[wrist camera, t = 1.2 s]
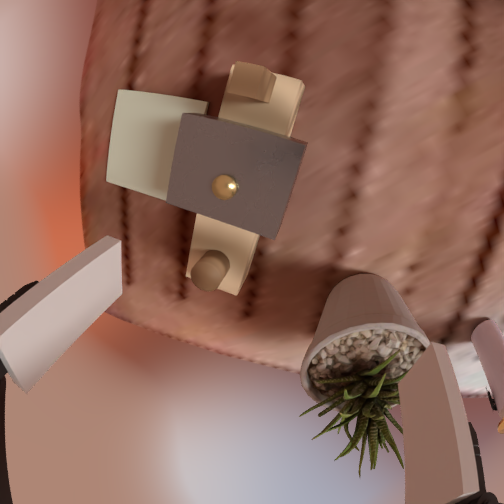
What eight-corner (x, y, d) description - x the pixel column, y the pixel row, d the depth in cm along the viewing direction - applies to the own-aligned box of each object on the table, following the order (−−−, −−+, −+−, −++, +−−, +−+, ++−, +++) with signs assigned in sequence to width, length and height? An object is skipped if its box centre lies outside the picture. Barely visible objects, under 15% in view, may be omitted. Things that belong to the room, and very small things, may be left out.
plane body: (246, 72, 25) (210, 53, 16) (305, 86, 24) (295, 69, 16) (201, 257, 35) (164, 301, 27) (247, 275, 35) (221, 325, 26)
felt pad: (121, 89, 28) (118, 89, 27) (209, 102, 27) (207, 102, 26) (108, 180, 34) (106, 181, 33) (187, 205, 32) (184, 206, 32)
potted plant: (285, 317, 36) (244, 462, 18) (354, 234, 29) (376, 392, 12) (359, 359, 36) (355, 494, 19) (431, 293, 30) (480, 436, 12)
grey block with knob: (197, 112, 23) (179, 112, 20) (307, 142, 22) (305, 145, 19) (181, 193, 27) (163, 203, 24) (280, 227, 26) (273, 242, 23)
